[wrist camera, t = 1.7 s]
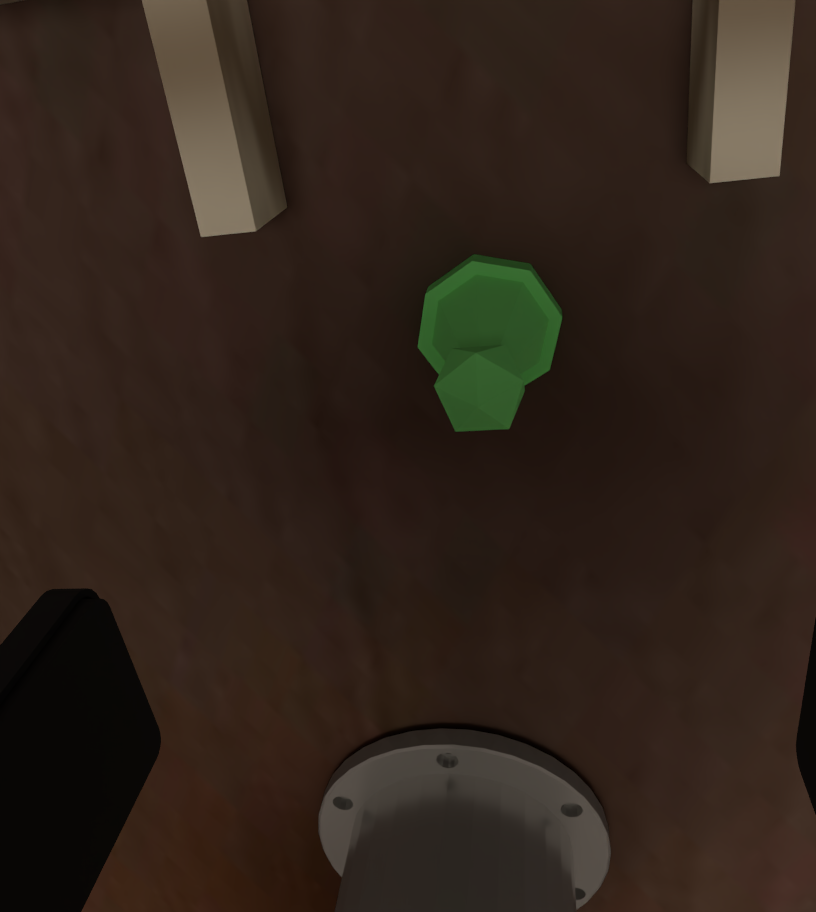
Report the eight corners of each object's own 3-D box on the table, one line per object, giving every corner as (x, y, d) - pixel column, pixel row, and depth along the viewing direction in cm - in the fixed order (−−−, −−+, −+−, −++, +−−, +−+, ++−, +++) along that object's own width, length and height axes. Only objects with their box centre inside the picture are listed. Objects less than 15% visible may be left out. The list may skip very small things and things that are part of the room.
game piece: (437, 400, 25) (413, 500, 20) (402, 270, 23) (365, 342, 18) (573, 375, 24) (586, 473, 19) (548, 236, 22) (555, 302, 17)
